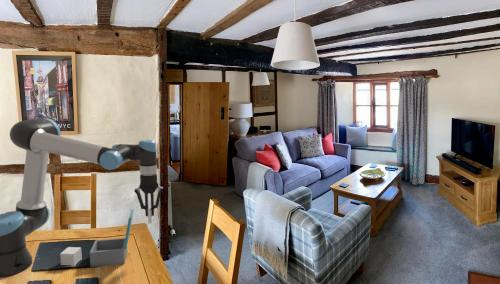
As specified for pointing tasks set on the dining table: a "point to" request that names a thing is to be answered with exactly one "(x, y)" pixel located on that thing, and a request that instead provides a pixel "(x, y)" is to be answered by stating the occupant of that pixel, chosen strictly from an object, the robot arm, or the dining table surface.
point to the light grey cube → (71, 256)
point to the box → (108, 252)
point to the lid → (128, 229)
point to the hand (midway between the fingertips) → (150, 222)
